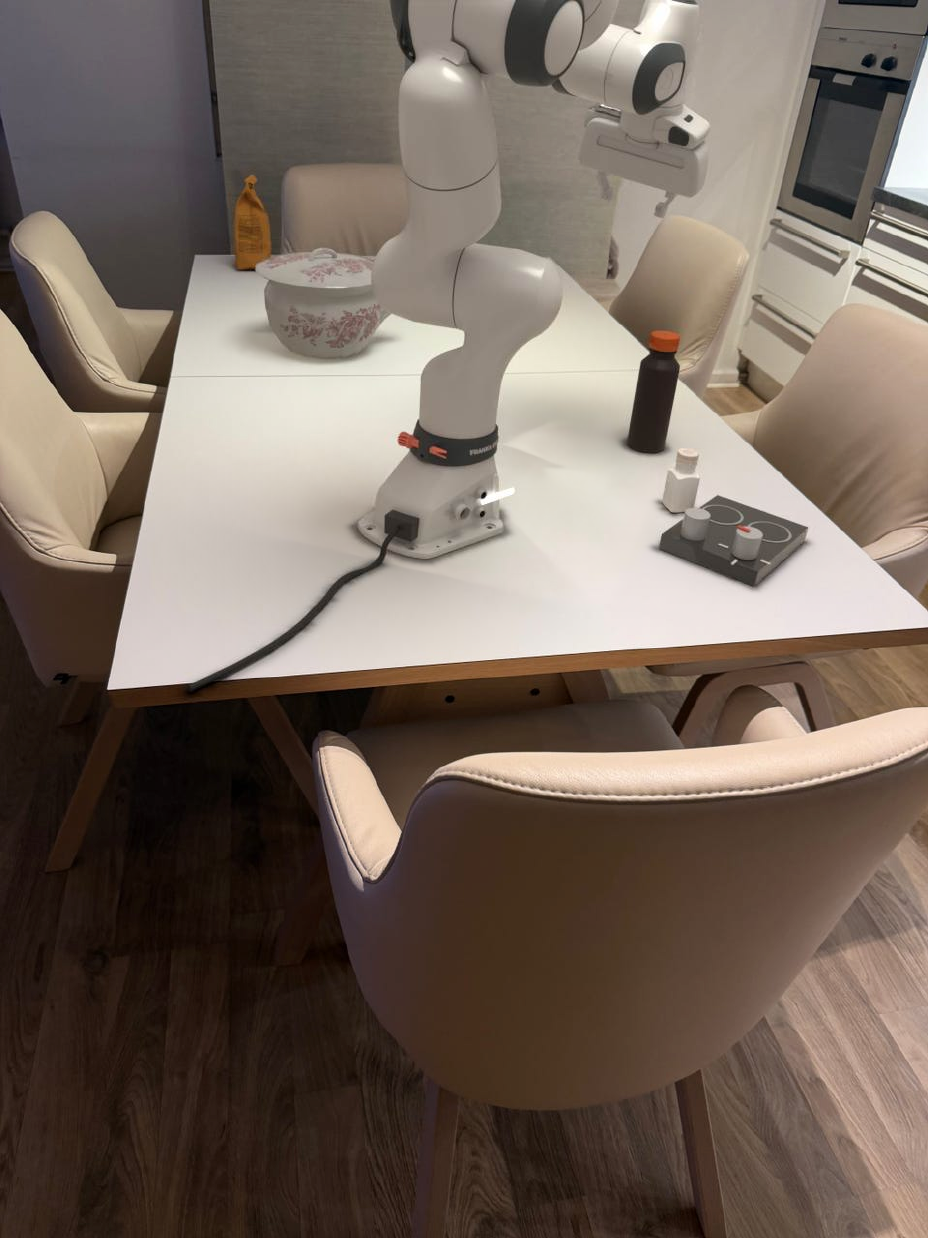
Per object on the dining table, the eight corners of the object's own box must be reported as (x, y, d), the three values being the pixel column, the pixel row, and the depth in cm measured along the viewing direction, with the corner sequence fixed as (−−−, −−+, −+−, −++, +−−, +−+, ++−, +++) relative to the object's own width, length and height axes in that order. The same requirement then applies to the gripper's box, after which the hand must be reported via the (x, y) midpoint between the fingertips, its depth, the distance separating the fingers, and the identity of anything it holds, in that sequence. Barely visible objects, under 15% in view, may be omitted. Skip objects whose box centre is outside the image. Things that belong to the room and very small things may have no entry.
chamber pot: (234, 356, 196) (227, 251, 185) (296, 322, 218) (293, 226, 207) (360, 379, 190) (360, 272, 178) (410, 341, 212) (413, 243, 200)
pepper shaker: (671, 514, 149) (682, 458, 144) (660, 502, 152) (670, 447, 147) (694, 512, 150) (706, 456, 145) (682, 501, 153) (694, 445, 148)
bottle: (638, 435, 175) (657, 325, 164) (671, 446, 172) (693, 335, 160) (619, 445, 170) (637, 333, 159) (652, 456, 167) (673, 343, 156)
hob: (753, 590, 131) (758, 573, 130) (655, 550, 139) (658, 534, 137) (806, 542, 144) (811, 527, 142) (714, 508, 151) (717, 493, 150)
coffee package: (276, 261, 263) (272, 174, 250) (270, 272, 252) (265, 182, 240) (239, 259, 262) (233, 171, 250) (232, 270, 252) (225, 180, 239)
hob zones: (758, 566, 132) (764, 544, 130) (668, 532, 139) (673, 510, 137) (798, 532, 141) (804, 511, 139) (712, 501, 148) (717, 480, 146)
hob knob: (761, 554, 135) (767, 530, 133) (750, 563, 132) (756, 539, 130) (737, 545, 136) (743, 521, 134) (726, 554, 134) (732, 530, 132)
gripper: (579, 105, 144) (565, 196, 154) (706, 140, 138) (684, 233, 149) (595, 93, 148) (582, 183, 158) (720, 126, 142) (698, 217, 152)
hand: (632, 207), depth 153 cm, fingers open, 8 cm apart
